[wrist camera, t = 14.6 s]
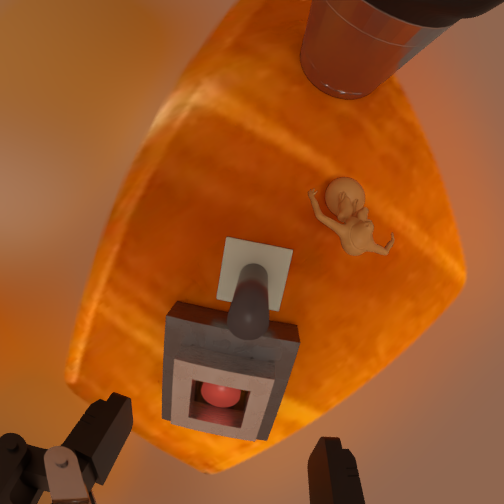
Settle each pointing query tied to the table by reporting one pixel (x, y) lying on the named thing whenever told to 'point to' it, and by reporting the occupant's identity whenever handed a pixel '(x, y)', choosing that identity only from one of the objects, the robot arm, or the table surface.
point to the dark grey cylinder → (250, 304)
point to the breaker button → (220, 395)
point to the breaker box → (224, 372)
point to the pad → (259, 253)
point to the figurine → (349, 217)
